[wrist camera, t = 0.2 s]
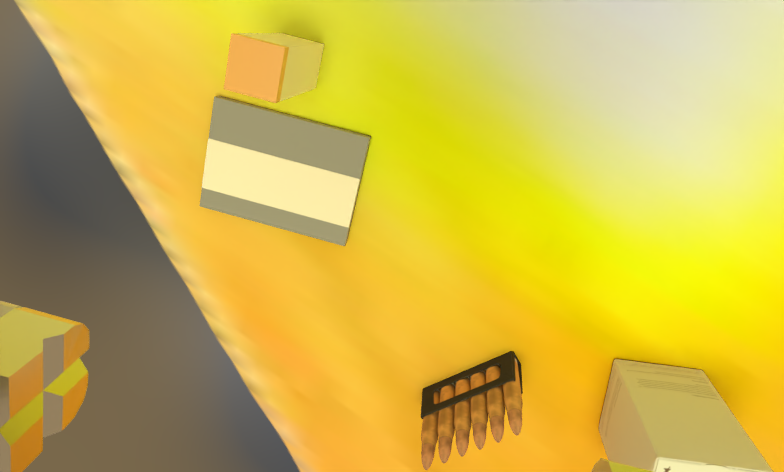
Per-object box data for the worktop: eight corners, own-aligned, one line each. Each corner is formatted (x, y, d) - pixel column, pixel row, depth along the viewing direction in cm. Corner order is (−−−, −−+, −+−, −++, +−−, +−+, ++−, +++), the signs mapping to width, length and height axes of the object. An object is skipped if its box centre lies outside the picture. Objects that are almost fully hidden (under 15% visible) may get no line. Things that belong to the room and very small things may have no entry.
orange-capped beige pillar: (281, 33, 54) (231, 33, 43) (324, 44, 54) (285, 47, 42) (274, 77, 55) (223, 89, 44) (315, 88, 55) (275, 103, 44)
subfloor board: (218, 95, 56) (213, 96, 55) (371, 136, 56) (369, 138, 55) (203, 203, 60) (199, 206, 59) (346, 242, 60) (344, 246, 59)
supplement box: (595, 430, 63) (630, 545, 49) (612, 356, 60) (655, 456, 46) (684, 443, 62) (745, 563, 48) (706, 369, 59) (779, 474, 45)
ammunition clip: (513, 350, 61) (522, 422, 50) (521, 364, 62) (532, 439, 50) (422, 388, 64) (411, 465, 53) (430, 402, 65) (421, 480, 53)
